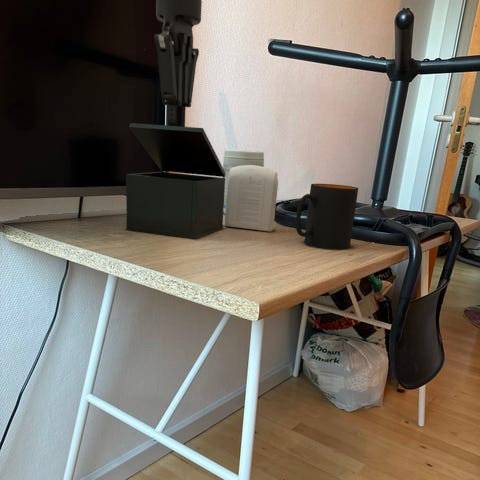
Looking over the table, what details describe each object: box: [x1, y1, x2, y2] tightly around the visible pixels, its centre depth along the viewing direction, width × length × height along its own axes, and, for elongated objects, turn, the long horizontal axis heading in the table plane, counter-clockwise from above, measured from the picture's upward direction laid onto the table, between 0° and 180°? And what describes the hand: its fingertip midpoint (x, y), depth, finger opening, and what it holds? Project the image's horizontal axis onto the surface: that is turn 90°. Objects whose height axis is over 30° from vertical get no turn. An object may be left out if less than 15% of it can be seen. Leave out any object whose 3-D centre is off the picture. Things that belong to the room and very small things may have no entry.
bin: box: [125, 171, 225, 240], centre depth 91 cm, size 14×14×10 cm
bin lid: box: [129, 122, 226, 178], centre depth 89 cm, size 14×14×1 cm
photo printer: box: [224, 165, 279, 233], centre depth 97 cm, size 10×4×12 cm, turn 75°
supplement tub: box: [222, 149, 265, 215], centre depth 115 cm, size 10×10×15 cm
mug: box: [295, 183, 359, 250], centre depth 86 cm, size 8×12×10 cm
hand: (175, 145), depth 89 cm, fingers closed
